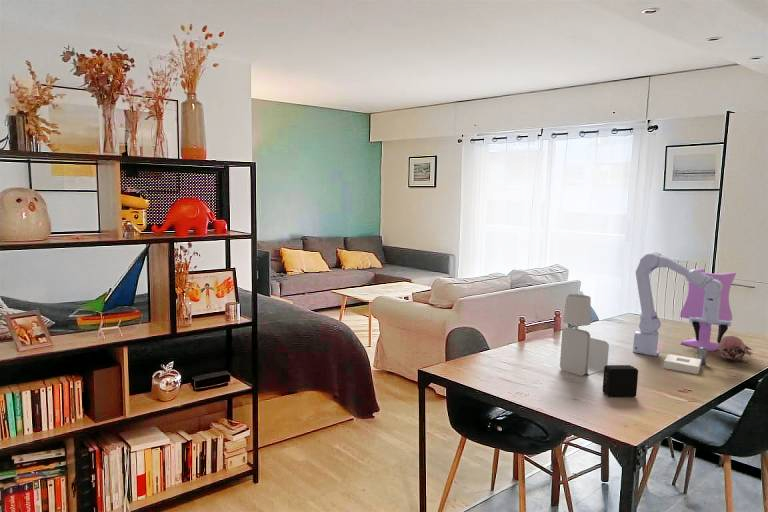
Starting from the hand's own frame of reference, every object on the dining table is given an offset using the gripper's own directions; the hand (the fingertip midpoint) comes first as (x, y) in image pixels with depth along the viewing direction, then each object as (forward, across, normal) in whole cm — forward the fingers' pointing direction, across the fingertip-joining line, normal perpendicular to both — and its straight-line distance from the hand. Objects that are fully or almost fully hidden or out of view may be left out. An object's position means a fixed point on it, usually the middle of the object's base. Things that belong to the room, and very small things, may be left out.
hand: (707, 341), depth 223 cm
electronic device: (+10, -34, -55) cm, 65 cm away
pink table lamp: (+10, +4, +33) cm, 35 cm away
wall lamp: (+10, -47, -31) cm, 58 cm away
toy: (+10, +12, +11) cm, 19 cm away
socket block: (+10, -10, -9) cm, 16 cm away
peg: (+10, -1, -1) cm, 10 cm away
